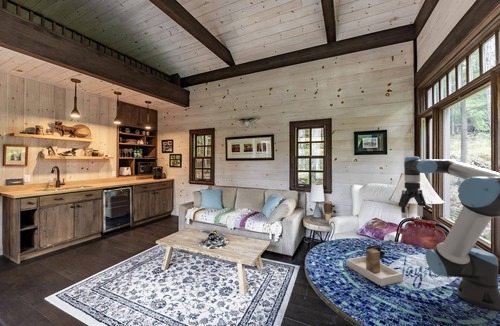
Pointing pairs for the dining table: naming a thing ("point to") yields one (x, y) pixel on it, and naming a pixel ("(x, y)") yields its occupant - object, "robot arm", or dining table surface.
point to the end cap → (378, 249)
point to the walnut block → (373, 260)
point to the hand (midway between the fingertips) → (412, 217)
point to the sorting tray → (382, 278)
